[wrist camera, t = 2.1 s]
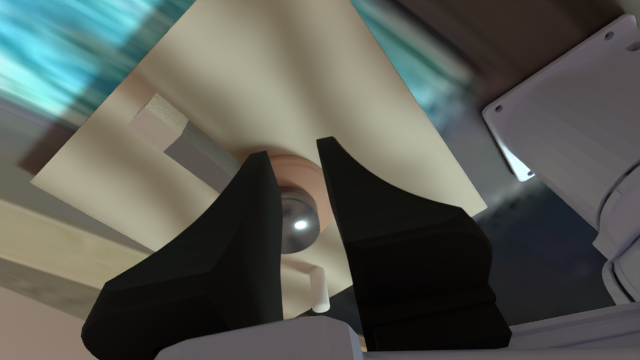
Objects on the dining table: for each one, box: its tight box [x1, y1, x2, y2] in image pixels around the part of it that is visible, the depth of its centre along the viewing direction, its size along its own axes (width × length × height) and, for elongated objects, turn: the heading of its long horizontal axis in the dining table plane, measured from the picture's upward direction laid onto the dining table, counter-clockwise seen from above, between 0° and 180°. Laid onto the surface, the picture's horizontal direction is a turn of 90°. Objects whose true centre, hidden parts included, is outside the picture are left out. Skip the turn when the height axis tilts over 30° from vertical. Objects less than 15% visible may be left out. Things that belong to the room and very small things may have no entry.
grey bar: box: [127, 93, 320, 254], centre depth 20 cm, size 13×4×2 cm, turn 39°
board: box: [30, 0, 488, 320], centre depth 24 cm, size 22×24×1 cm
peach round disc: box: [269, 155, 334, 233], centre depth 23 cm, size 7×7×1 cm
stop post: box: [309, 267, 330, 313], centre depth 28 cm, size 1×1×4 cm
